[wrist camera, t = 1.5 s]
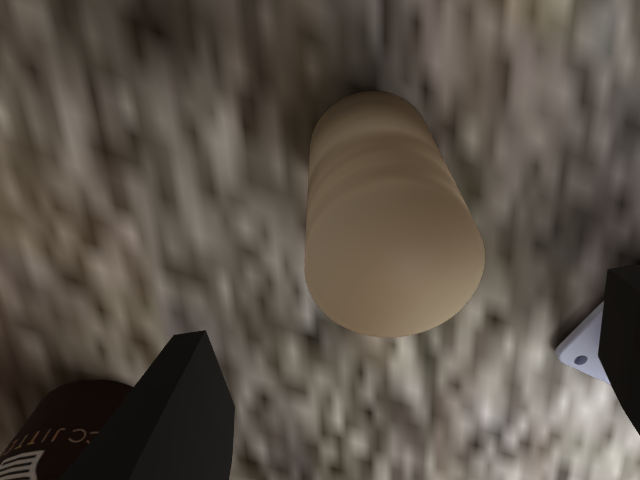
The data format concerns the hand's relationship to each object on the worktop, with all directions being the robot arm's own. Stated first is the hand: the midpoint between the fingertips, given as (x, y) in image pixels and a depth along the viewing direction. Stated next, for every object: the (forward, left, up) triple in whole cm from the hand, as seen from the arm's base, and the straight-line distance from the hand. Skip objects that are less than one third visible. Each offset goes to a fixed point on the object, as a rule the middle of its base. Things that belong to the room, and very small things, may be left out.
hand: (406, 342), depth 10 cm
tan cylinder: (0, 0, -10) cm, 10 cm away
